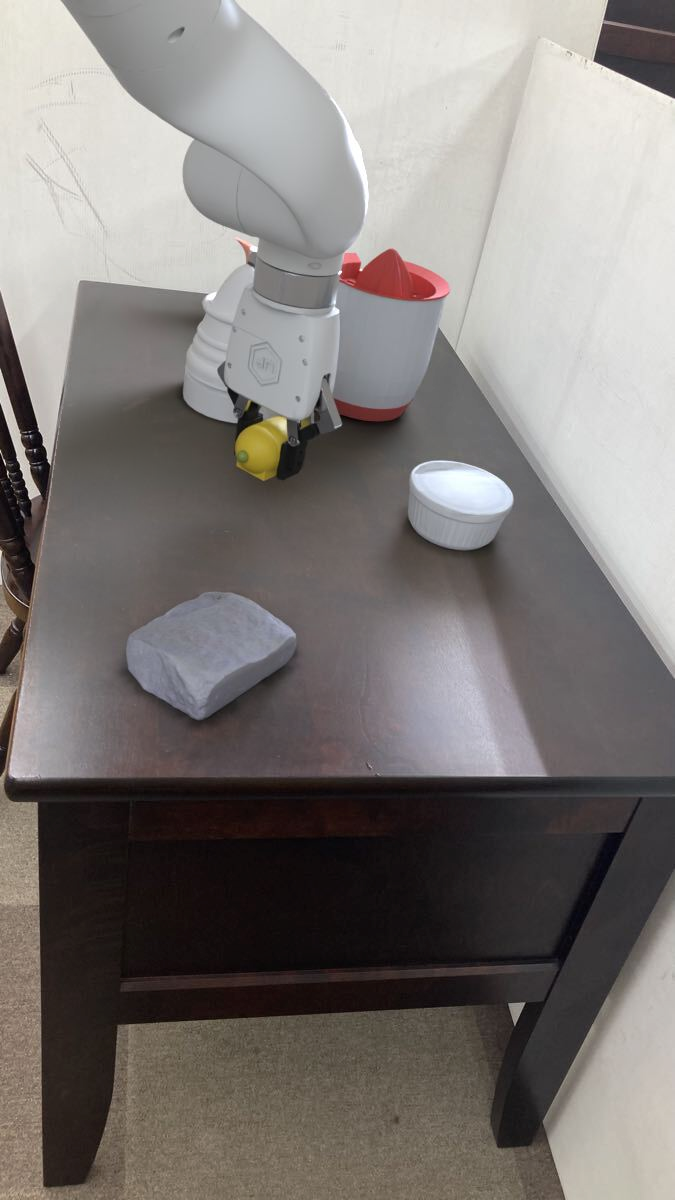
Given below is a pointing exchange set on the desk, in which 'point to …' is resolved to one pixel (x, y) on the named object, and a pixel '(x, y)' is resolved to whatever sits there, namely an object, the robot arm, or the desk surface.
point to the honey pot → (216, 350)
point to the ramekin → (457, 504)
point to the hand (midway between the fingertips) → (267, 462)
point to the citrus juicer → (384, 334)
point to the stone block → (208, 652)
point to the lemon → (261, 447)
